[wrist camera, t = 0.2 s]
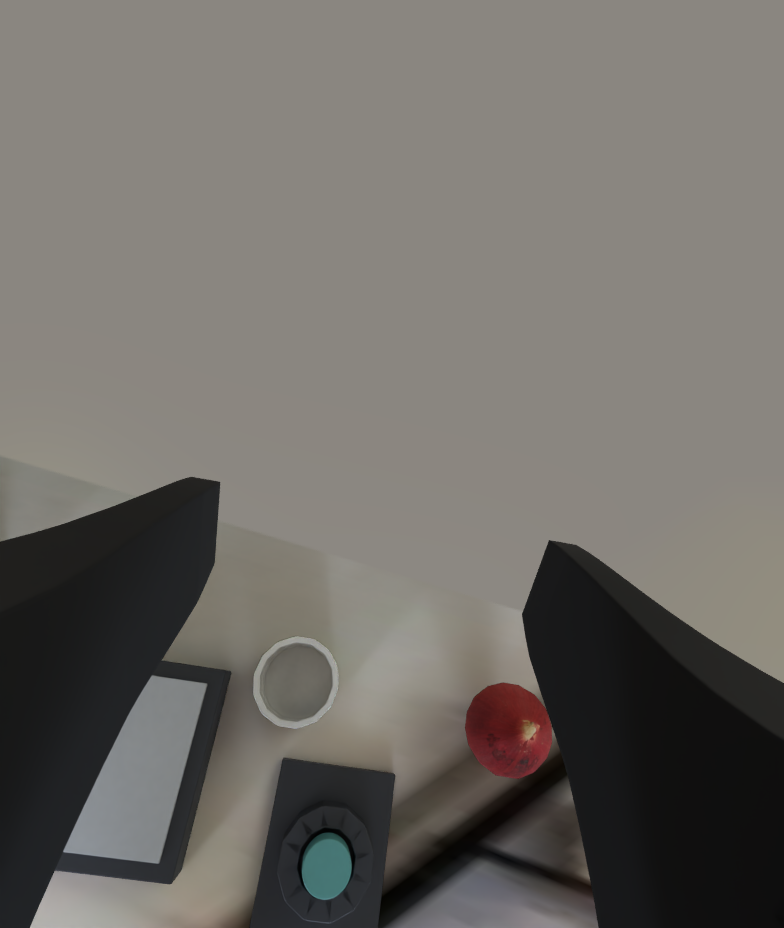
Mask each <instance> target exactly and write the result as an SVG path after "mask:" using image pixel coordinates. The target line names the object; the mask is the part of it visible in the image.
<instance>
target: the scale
mask: <svg viewBox="0 0 784 928" xmlns="http://www.w3.org/2000/svg"><path fill="white" fill-rule="evenodd" d="M230 676H231V671H226V670H220V669H214V668H207V667H200V666H194V665H187V664H181V663H174V662H167V661H161V662H160V663H159V665H158V666H157V668H156V670H155V671H154V673H153V674H152V676H151V678H150V679H149V681H148V682H147V684H146V686H145V687H144V689H143V690H142V692H141V694H140V695H139V697H138V699H137V701H136V702H135V704H134V706H133V708H132V709H131V711H130V713H129V715H128V717H127V719H126V721H125V723H124V725H123V727H122V729H121V731H120V733H119V735H118V737H117V739H116V741H115V743H114V745H113V747H112V749H111V751H110V753H109V755H108V757H107V759H106V761H105V763H104V765H103V767H102V769H101V771H100V774H99V776H98V778H97V780H96V782H95V784H94V786H93V788H92V791H91V793H90V795H89V797H88V799H87V801H86V803H85V805H84V808H83V810H82V812H81V814H80V816H79V818H78V820H77V822H76V824H75V827H74V829H73V831H72V833H71V835H70V838H69V840H68V842H67V844H66V847H65V849H64V851H63V853H62V856H61V858H60V860H59V862H58V864H57V867H56V869H55V870H56V871H64V872H72V873H80V874H89V875H97V876H105V877H114V878H122V879H130V880H138V881H147V882H155V883H163V884H172V882H173V881H174V880H175V878H176V877H177V876H178V874H179V873H180V871H181V870H182V866H183V862H184V858H185V854H186V850H187V846H188V842H189V838H190V834H191V830H192V826H193V822H194V818H195V814H196V810H197V806H198V803H199V799H200V795H201V791H202V787H203V783H204V779H205V775H206V771H207V767H208V763H209V759H210V755H211V751H212V747H213V743H214V739H215V735H216V731H217V727H218V723H219V719H220V715H221V711H222V707H223V703H224V699H225V695H226V691H227V687H228V683H229V679H230Z"/></svg>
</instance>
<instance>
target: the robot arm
mask: <svg viewBox="0 0 784 928" xmlns="http://www.w3.org/2000/svg"><path fill="white" fill-rule="evenodd" d="M219 493H220V482H217V481H212V480H206V479H200V478H195V477H189V478H185V479H182V480H179V481H176V482H174V483H171V484H169V485H166V486H164V487H161V488H159V489H156V490H154V491H151V492H149V493H146V494H144V495H141V496H138V497H136V498H133V499H131V500H128V501H126V502H123V503H121V504H118V505H116V506H113V507H110V508H108V509H105V510H102V511H99V512H96V513H93V514H90V515H88V516H85V517H82V518H79V519H76V520H73V521H70V522H68V523H65V524H62V525H58V526H55V527H52V528H49V529H45V530H42V531H38V532H35V533H31V534H28V535H24V536H20V537H16V538H12V539H9V540H5V541H1V542H0V928H30V926H31V923H32V921H33V919H34V916H35V914H36V912H37V909H38V907H39V905H40V902H41V900H42V898H43V896H44V893H45V891H46V889H47V887H48V884H49V882H50V880H51V878H52V876H53V873H54V871H55V869H56V867H57V864H58V862H59V860H60V858H61V856H62V853H63V851H64V849H65V847H66V844H67V842H68V840H69V838H70V835H71V833H72V831H73V829H74V827H75V824H76V822H77V820H78V818H79V816H80V814H81V812H82V810H83V808H84V805H85V803H86V801H87V799H88V797H89V795H90V793H91V791H92V788H93V786H94V784H95V782H96V780H97V778H98V776H99V774H100V771H101V769H102V767H103V765H104V763H105V761H106V759H107V757H108V755H109V753H110V751H111V749H112V747H113V745H114V743H115V741H116V739H117V737H118V735H119V733H120V731H121V729H122V727H123V725H124V723H125V721H126V719H127V717H128V715H129V713H130V711H131V709H132V708H133V706H134V704H135V702H136V701H137V699H138V697H139V695H140V694H141V692H142V690H143V689H144V687H145V686H146V684H147V682H148V681H149V679H150V678H151V676H152V674H153V673H154V671H155V670H156V668H157V666H158V665H159V663H160V662H161V660H162V658H163V657H164V655H165V654H166V652H167V651H168V649H169V647H170V646H171V644H172V643H173V641H174V639H175V638H176V636H177V635H178V633H179V631H180V630H181V628H182V627H183V625H184V623H185V622H186V620H187V618H188V617H189V615H190V614H191V612H192V610H193V609H194V607H195V605H196V604H197V602H198V600H199V597H200V595H201V593H202V591H203V589H204V587H205V584H206V582H207V580H208V577H209V575H210V573H211V570H212V568H213V566H214V563H215V550H216V536H217V521H218V507H219V506H218V505H219ZM522 617H523V624H524V630H525V636H526V642H527V647H528V652H529V657H530V660H531V663H532V666H533V669H534V673H535V676H536V679H537V682H538V685H539V688H540V691H541V694H542V697H543V700H544V703H545V706H546V709H547V712H548V715H549V718H550V721H551V724H552V727H553V730H554V733H555V736H556V739H557V742H558V745H559V748H560V751H561V754H562V757H563V761H564V764H565V767H566V771H567V774H568V778H569V782H570V786H571V791H572V795H573V800H574V804H575V809H576V813H577V817H578V822H579V826H580V831H581V836H582V841H583V846H584V851H585V856H586V861H587V866H588V871H589V876H590V881H591V886H592V891H593V896H594V902H595V908H596V914H597V920H598V926H599V928H784V683H782V682H781V681H779V680H777V679H775V678H773V677H772V676H770V675H768V674H766V673H764V672H763V671H761V670H759V669H757V668H756V667H754V666H752V665H751V664H749V663H747V662H745V661H744V660H742V659H741V658H739V657H737V656H736V655H734V654H732V653H731V652H729V651H727V650H726V649H724V648H722V647H721V646H719V645H718V644H716V643H715V642H713V641H712V640H710V639H708V638H707V637H705V636H704V635H702V634H701V633H699V632H698V631H696V630H695V629H693V628H692V627H690V626H689V625H688V624H686V623H685V622H683V621H682V620H680V619H679V618H677V617H676V616H675V615H673V614H672V613H670V612H669V611H667V610H666V609H665V608H663V607H662V606H661V605H659V604H658V603H656V602H655V601H654V600H652V599H651V598H650V597H648V596H647V595H645V594H644V593H642V591H640V590H639V589H638V588H636V587H635V586H634V585H632V584H631V583H630V582H628V581H627V580H626V579H624V578H623V577H622V576H620V575H619V574H618V573H616V572H615V571H614V570H612V569H611V568H610V567H608V566H607V565H605V564H604V563H603V562H601V561H600V560H599V559H597V558H596V557H594V556H593V555H591V554H590V553H589V552H587V551H585V550H584V549H582V548H580V547H579V546H577V545H573V544H567V543H562V542H556V541H550V540H549V542H548V545H547V548H546V550H545V553H544V556H543V559H542V561H541V564H540V567H539V569H538V572H537V575H536V578H535V580H534V583H533V586H532V589H531V591H530V594H529V597H528V600H527V602H526V605H525V608H524V611H523V613H522Z"/></svg>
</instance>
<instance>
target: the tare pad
mask: <svg viewBox="0 0 784 928" xmlns="http://www.w3.org/2000/svg"><path fill="white" fill-rule="evenodd" d="M394 782H395V774H394V773H388V772H381V771H374V770H367V769H360V768H353V767H346V766H339V765H331V764H324V763H317V762H310V761H303V760H296V759H289V758H283V761H282V766H281V771H280V776H279V781H278V786H277V791H276V796H275V801H274V806H273V811H272V816H271V821H270V826H269V831H268V837H267V842H266V847H265V852H264V857H263V862H262V867H261V872H260V877H259V882H258V887H257V892H256V897H255V902H254V907H253V912H252V917H251V922H250V927H249V928H378V921H379V913H380V904H381V895H382V887H383V878H384V869H385V860H386V852H387V843H388V834H389V825H390V817H391V808H392V799H393V790H394ZM322 833H334V834H337V835H339V836H340V837H341V838H342V839H343V840H344V841H345V842H346V844H347V846H348V849H349V852H350V857H351V863H352V869H351V876H350V879H349V881H348V884H347V885H346V887H345V888H344V890H343V891H342V892H341V893H340V894H339V895H337V896H336V897H334V898H331V899H327V900H322V899H318V898H316V897H314V896H312V895H311V894H310V893H309V892H308V890H307V889H306V887H305V885H304V882H303V878H302V862H303V856H304V852H305V850H306V848H307V846H308V844H309V843H310V842H311V841H312V840H313V839H314V838H315V837H316V836H318V835H320V834H322Z"/></svg>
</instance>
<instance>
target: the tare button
mask: <svg viewBox="0 0 784 928" xmlns="http://www.w3.org/2000/svg"><path fill="white" fill-rule="evenodd" d="M351 869H352V863H351V857H350V852H349V849H348V846H347V844H346V842H345V841H344V840H343V839H342V838H341V837H340V836H339V835H337V834H334V833H322V834H320V835H318V836H316V837H315V838H314V839H313V840H312V841H311V842H310V843H309V844H308V846H307V848H306V850H305V852H304V856H303V862H302V878H303V882H304V885H305V887H306V889H307V890H308V892H309V893H310V894H311V895H312V896H314V897H316V898H318V899H322V900H327V899H331V898H334V897H336V896H337V895H339V894H340V893H341V892H342V891H343V890H344V888H345V887H346V885H347V884H348V881H349V879H350V876H351Z"/></svg>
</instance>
